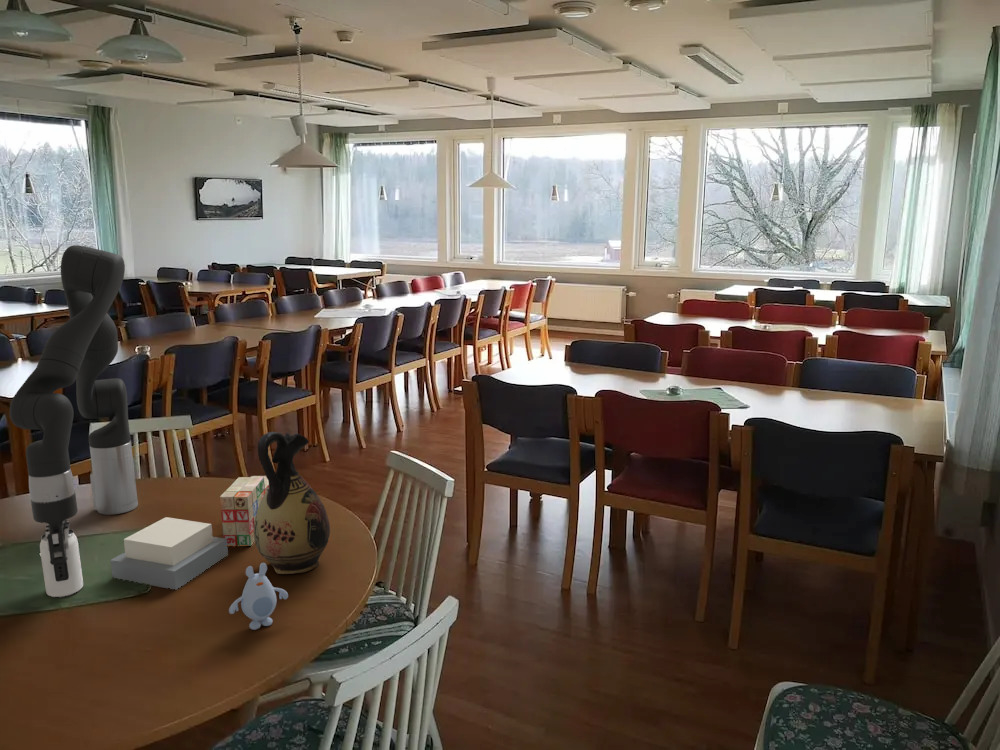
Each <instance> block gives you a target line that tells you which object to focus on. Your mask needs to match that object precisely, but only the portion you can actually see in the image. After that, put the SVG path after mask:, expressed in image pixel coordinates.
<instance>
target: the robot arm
mask: <svg viewBox="0 0 1000 750" xmlns="http://www.w3.org/2000/svg"><path fill="white" fill-rule="evenodd" d="M125 271H126V266H125V260H124V258H123V257H122V256H121V255H119V254H118V253H114V252H110V251H106V250H102V249H100V248H99V249H98V248H95V247H90V246H89V247H88V246H85V245H80V244H79V245H77V244H73V245H70V246H68V247H66V249H65V250H64V252H63V254H62V256H61V261H60V279H61V284H62V288H63V292H64V297H65V301H66V305H67V308H68V314H69V320H67V321H66V322H65V323H63V324H61V325H60V326H59V327H58V328H57V329H55V331H54V332H53V333H51V335H50V336H49V338H48V339H47V341H46V343H45V345H44V347H43V349H42V353H41V355H40V358H39V360H38V362H37V365H36V367H35V369H34V370H33V371H32V372H31V373H30V374H29V375H28V376H27V378H26V380H25V381H24V382H23V383H22V385H21V386H20V387H19V388H18V390H17V392H16V393H15V394H14V396H13V398H12V400H11V401H10V404H9V418H10V420H11V422H12V423H13V425H14V426H15V427H16V428H19V429H22V430H39V431H43V438H42V439H40V440H37V441H33V442H31V443H30V444H28V445H27V447H26V449H25V457H26V458H25V459H26V465H27V473H28V489H29V491H28V492H29V499H30V505H31V512H32V518H33V521H35V522H36V523H40V524H46V526H45V527H46V528H45V531H44V532H45V533H44V534H46V538H47V541H48V551H49V552H50V559H51V560H50V563H51V565H54V572H55V579H56V581H58V582H59V581H64V580H67V579H68V578H69V574H68V567H67V560H68V557H67V553H66V551H67V550H68V549H69V540H68V536H69V530H70V529H71V526H70V525H71V524H70V521H68V520H69V519H71V518H73V517H74V516H75V515H76V514H77V513H78V503H77V495H76V489H75V481H74V477H73V473H72V470H71V469H72V468H71V462H70V461H71V459H70V454H69V453H70V452H69V445H70V439H71V434H72V428H73V423H74V422H73V420H74V407H73V405H72V404H73V403H71V401H70V399H69V398H68V397H67V396H66V395H64V394H62V393H58V392H56V391H58V390H60V389H63V388H67V387H68V388H69V387H70V386H72V385H73V384H74V383H75V382H76V383H75V384H76V389H75V390H76V391H75V393H76V405H77V409H78V411H79V415H81V416H82V417H83V418H85V419H90V420H91V419H100V418H109V417H113V418H112V419H111V420H110V422H108V423H107V424H105V425H103V426H101V427H99V428H97V429H95V430H93V431H91V432H90V433H89V435H88V445H89V452H90V461H91V467H92V468H91V469H92V473H90V475H89V478H90V485H91V486H90V487H91V493H92V502H93V509H94V511H97V513H98V514H101V515H107V516H111V515H119V514H124V513H128V512H130V511H132V510H135V509H136V508H137V507H138V505H139V502H138V495H137V494H138V493H137V483H136V476H135V475H136V474H135V467H134V458H133V457H134V455H133V448H132V441H131V438H132V437H131V433H130V424H129V423H130V422H129V411H128V410H129V409H128V392H127V386H126V384H125V382H124V381H123V379H121V378H117V377H116V378H115V377H114V378H107V379H105V378H104V379H97V378H98V377H99V376H100V375H101V374H102V373H103V372H104V371H105V370H106V369H107V368H108V367H109V366H110V365H111V364H112V363H113V361H114V360H115V358H116V356H117V354H118V350H119V337H118V328H117V326H116V324H115V322H114V320H113V319H112V318H111V316H110V315H109V314H108V312H109V310H110V308H111V306H112V305H113V302H114V301H115V299H116V297H117V295H118V294H119V291H120V290H121V289H120V288H121V287H122V284H123V282H124V277H125ZM93 295H94V296H93ZM64 537H65V538H64ZM64 540H65V544H64ZM59 551H61V552H62V556H60V557H55V552H59Z"/></svg>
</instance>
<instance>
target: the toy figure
mask: <svg viewBox="0 0 1000 750" xmlns="http://www.w3.org/2000/svg"><path fill="white" fill-rule="evenodd" d="M267 570H268V566H267V564H266V563H265V562H261V563H260V565H259V570H258V571H259V572H257V573H254V568H253V566H251V565H249V566H247V567H246V569H245V576H247V577H248V579H247V581H246V583H245V585H244V588H243V590H242V595H241V596H240V597H238V598H237V599H235V600H234V601H233V603H231V605H230V607H228V613H229V614H230V615H233V614H235V613H236V612H238V611H239V603H240V607H241V610H242V612H243V614H244V615H245V616H246V617H248V619H250V620H252V621H251V622H250V623H249V625H248V626H249V629H250V630H254V631H255V630H258V629H260V628H261V626H263V627H269V626H271V625H272V624H273V621H274V620H273V618H271V617H270V616H271V615H272V614H273V612H274V611H275V609H276V607H277V601H278V599H277V598H278V597H277V594H276V592H278V593H279V595H278V596H279V600H282V599H283V600H287V599H288V598H289V594H288V592H287V590H285V589H283V588H280V587H274V586H273V585H272V583H271V582H270V580H269V579H268V577H267V576H266V573H267Z"/></svg>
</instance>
